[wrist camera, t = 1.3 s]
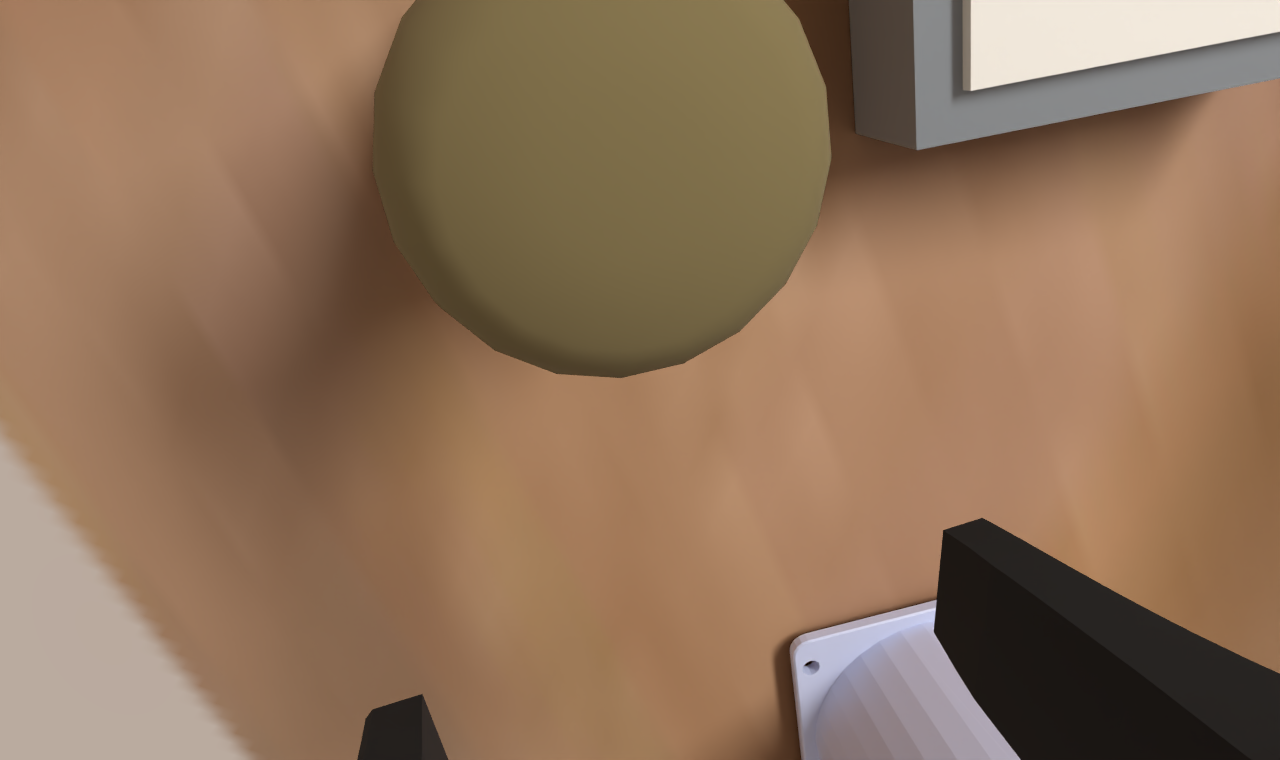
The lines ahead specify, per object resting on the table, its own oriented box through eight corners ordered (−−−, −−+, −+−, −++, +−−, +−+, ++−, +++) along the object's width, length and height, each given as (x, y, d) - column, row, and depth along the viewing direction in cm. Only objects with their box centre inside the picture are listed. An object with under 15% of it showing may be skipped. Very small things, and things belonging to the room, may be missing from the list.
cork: (346, 138, 18) (185, 274, 8) (497, -127, 17) (534, -365, 7) (583, 285, 20) (693, 539, 10) (733, 61, 19) (1032, 97, 9)
